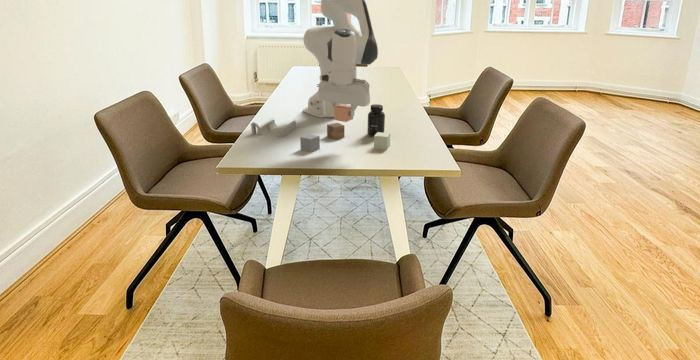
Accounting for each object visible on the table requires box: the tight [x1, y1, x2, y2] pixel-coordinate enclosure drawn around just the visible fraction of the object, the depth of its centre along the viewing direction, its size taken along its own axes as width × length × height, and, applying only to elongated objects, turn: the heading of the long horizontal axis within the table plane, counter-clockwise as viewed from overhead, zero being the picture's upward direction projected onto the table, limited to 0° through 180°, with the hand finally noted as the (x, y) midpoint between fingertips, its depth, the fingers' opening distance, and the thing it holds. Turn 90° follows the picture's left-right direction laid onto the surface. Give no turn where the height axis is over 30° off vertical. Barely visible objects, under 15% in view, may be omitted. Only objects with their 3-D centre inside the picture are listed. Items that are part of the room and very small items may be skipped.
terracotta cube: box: [333, 104, 354, 123], centre depth 194 cm, size 5×5×5 cm
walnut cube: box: [326, 122, 345, 140], centre depth 210 cm, size 5×5×5 cm
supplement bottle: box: [366, 103, 386, 138], centre depth 212 cm, size 7×7×12 cm
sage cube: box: [373, 132, 391, 151], centre depth 198 cm, size 5×5×5 cm
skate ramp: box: [250, 117, 297, 138], centre depth 218 cm, size 15×13×5 cm
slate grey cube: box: [299, 133, 321, 153], centre depth 195 cm, size 5×5×5 cm
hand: (343, 114), depth 194 cm, fingers closed on terracotta cube, 5 cm apart
